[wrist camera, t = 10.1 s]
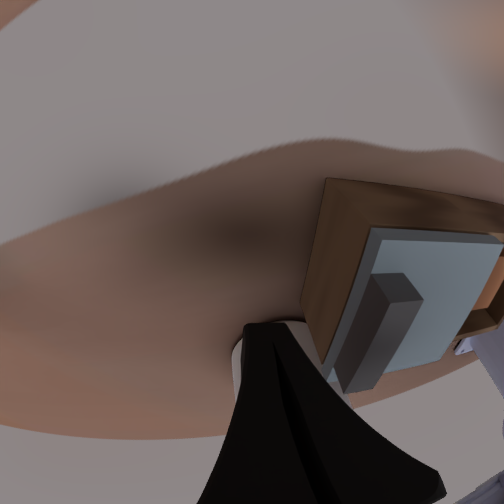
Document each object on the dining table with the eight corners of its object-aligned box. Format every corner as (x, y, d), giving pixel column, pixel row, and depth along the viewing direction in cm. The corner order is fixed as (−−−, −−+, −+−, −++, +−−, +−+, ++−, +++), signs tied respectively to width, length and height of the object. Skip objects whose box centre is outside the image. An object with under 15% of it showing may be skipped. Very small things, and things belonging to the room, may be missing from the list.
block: (478, 224, 17) (514, 257, 13) (457, 272, 19) (487, 307, 16) (441, 219, 16) (481, 256, 13) (420, 273, 18) (451, 313, 15)
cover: (493, 235, 11) (524, 263, 9) (433, 350, 15) (450, 379, 13) (371, 227, 10) (405, 267, 8) (321, 369, 14) (334, 409, 12)
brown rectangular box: (503, 204, 16) (546, 238, 12) (466, 290, 20) (497, 329, 16) (326, 177, 14) (370, 223, 10) (299, 302, 18) (321, 364, 14)
